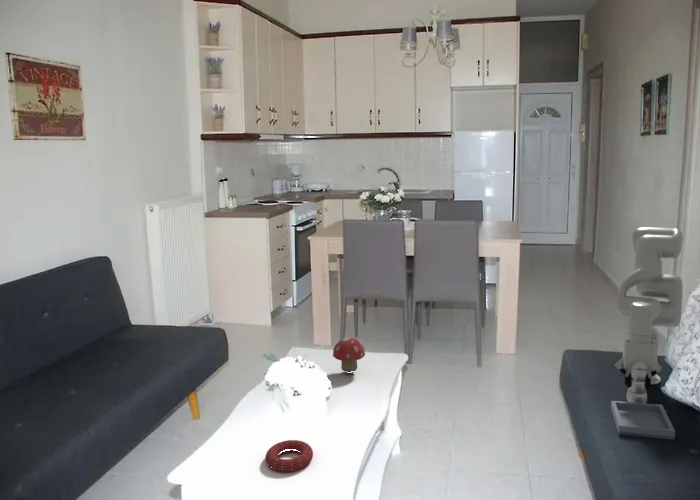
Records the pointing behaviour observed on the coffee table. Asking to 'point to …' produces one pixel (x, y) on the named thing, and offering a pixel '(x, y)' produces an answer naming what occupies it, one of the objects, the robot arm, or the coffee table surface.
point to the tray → (642, 420)
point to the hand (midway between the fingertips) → (637, 386)
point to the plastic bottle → (637, 384)
